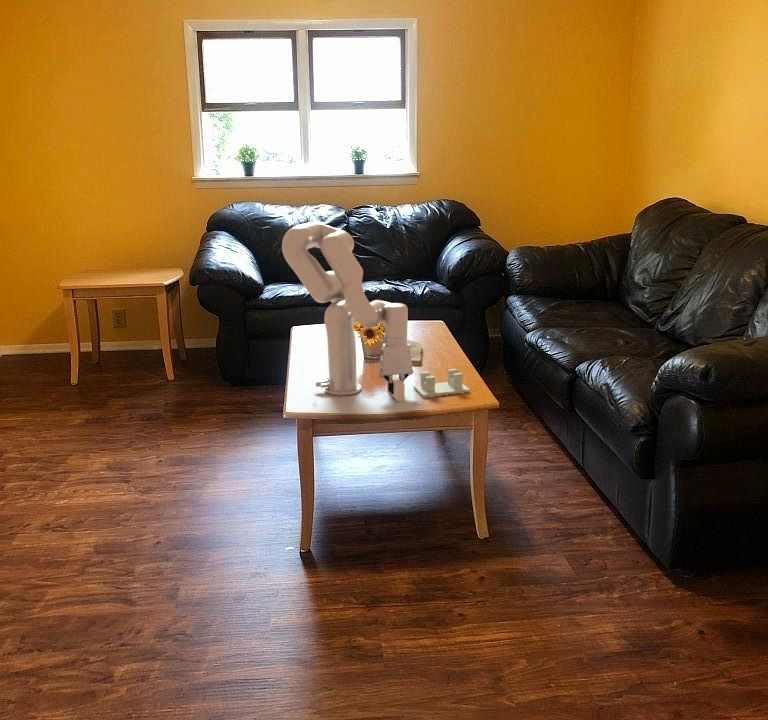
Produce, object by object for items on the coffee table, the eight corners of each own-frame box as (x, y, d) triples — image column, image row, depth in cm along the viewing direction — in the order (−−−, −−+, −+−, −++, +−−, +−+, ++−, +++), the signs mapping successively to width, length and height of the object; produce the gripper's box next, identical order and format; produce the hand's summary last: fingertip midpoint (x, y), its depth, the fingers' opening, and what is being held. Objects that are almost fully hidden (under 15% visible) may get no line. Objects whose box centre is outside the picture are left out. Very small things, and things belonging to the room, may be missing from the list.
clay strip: (404, 400, 253) (404, 383, 251) (397, 401, 252) (397, 384, 251) (393, 389, 264) (393, 373, 262) (387, 390, 263) (386, 373, 262)
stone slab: (421, 338, 319) (423, 355, 290) (420, 347, 320) (422, 366, 291) (391, 338, 319) (390, 355, 290) (391, 347, 321) (390, 366, 292)
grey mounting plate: (422, 398, 255) (422, 380, 254) (413, 389, 265) (413, 371, 263) (469, 392, 260) (470, 374, 258) (458, 383, 269) (459, 366, 267)
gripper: (376, 345, 247) (375, 398, 252) (422, 341, 251) (421, 394, 257) (369, 339, 254) (369, 391, 259) (415, 335, 258) (414, 387, 264)
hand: (395, 392), depth 258 cm, fingers closed on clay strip, 2 cm apart
